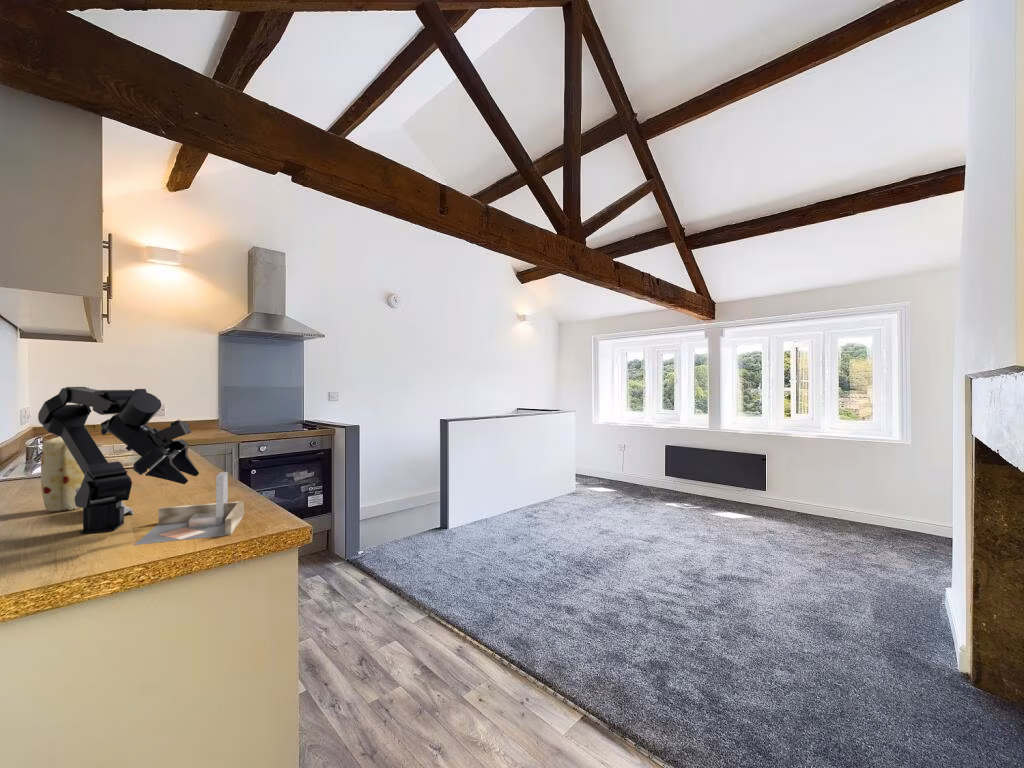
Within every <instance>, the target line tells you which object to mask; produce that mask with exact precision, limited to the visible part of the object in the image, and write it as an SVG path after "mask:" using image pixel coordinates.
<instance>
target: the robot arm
mask: <svg viewBox="0 0 1024 768" xmlns="http://www.w3.org/2000/svg"><path fill="white" fill-rule="evenodd" d="M91 408H92V409H91ZM161 408H162V402H161V400H160V399H159V398H158V397H157V396H156V395H154V394H152V393H149V392H147V389H146V388H135V389H134V390H133V389H100V390H99V389H94V388H89V387H86V386H66V387H63V388H60V391H59V392H58V394H56V395H54V396H52V397H51V398H49V399H47V400H46V401H44V402H43V404H42V406H41V408H40V410H39V412H38V416H37V420H38V422H39V424H40V425H42V427H43V428H44V429H45V430H46V431H47V433H49V434H53V435H56V436H58V437H61V438H62V439H63V441H64V442H65V444H66V446H67V447H68V449H69V451H70V452H71V454H72V456H73V457H74V459H75V460H76V462H77V464H78V465H79V467H80V469H81V470H82V472H83V474H84V479H83V481H82V483H81V487H80V489H79V491H78V492H77V494H76V496H75V504H76V506H77V507H79V508H82V529H81V530H80V531H79V532H78V533H79V535H81V534H91V533H102V532H103V533H104V532H112V531H115V530H117V529H118V528H120V527H121V526H122V525H124V524H125V514H124V507H123V506H121V501H123V502H124V501H129V498H130V494H131V490H132V485H133V481H132V479H131V477H130V476H129V474H128V470H126V469H125V468H124V465H123V463H122V462H120V461H111V462H108V460H107V459H106V457H105V456H104V454H103V453H102V450H101V449H100V447H99V446H98V445H97V443H96V441H95V439H94V438H93V437H92V435H91V434H90V433H89V431H88V429H87V427H86V426H85V425H86V423H87V419H88V418H89V416H90V415H91V412H92V411H93V412H95V413H97V414H98V415H101V416H104V415H105V416H106V415H113V416H111V417H110V418H109V419H107V420H104V421H102V422H101V423H100V426H101V429H100V431H101V435H103V436H104V435H107V434H112V436H114V437H116V438H117V440H119V441H120V442H121V443H123V444H124V445H126V446H125V449H126V450H127V451H128V452H130V451H133V452H134V453H136V454H137V455H139V456H140V458H139V459H137V460H136V461H135V462H134V463H133V471H134V472H136V473H137V474H138V475H139V476H141V475H145V476H146V477H151V478H152V477H153V478H155V479H161V480H165V481H169V482H173V483H176V484H182V485H186V484H187V483H188V482H189V479H188V478H187V477H186V476H185V475H184V474H187V475H190V476H193V477H198V476H199V474H200V472H199V471H198V469H197V467H196V466H195V465H194V462H192V460H191V458H189V455H188V453H189V452H188V451H189V448H190V447H189V443H188V442H187V441H185V440H184V439H183V438H181V437H183V436H186V435H189V434H190V433H192V430H191V428H190V425H191V424H189V423H187V421H186V420H184V421H182V420H180V419H177V420H175V421H171V422H170V426H167V427H165V428H163V429H159V428H157V427H152V428H151V427H150V426H148V425H147V424H148V423H149V422H150V420H151V419H152V418H153V417H154V416H155V415H157V413H158V412H159V411H160V410H161ZM179 437H180V438H181V439H177V438H179ZM174 439H175V440H174ZM183 473H184V474H183Z"/></svg>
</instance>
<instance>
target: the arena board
mask: <svg viewBox="0 0 1024 768" xmlns="http://www.w3.org/2000/svg"><path fill="white" fill-rule="evenodd" d="M241 521H242V519H241V520H240V522H241ZM234 531H235V530H234ZM234 531H233V533H234ZM224 536H225V523H224V524H223V525H216V526H206V527H195V528H189V521H186V522H175V523H164V524H159V523H158V524H156V526H154V527H153V528H152V529H150V531H148V532H147V533H146V534H145V535H144V536H143V537H141V538H140V539H139V540H138V541H136V542H135V543H134V544H133V546H137V545H138V546H139V545H148V544H149V545H150V544H156V543H157V544H158V543H167V542H176V541H177V542H179V541H185V540H186V541H187V540H197V539H209V538H215V537H216V538H217V537H224ZM227 536H228V535H226V536H225V537H227Z"/></svg>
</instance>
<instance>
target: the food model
mask: <svg viewBox="0 0 1024 768" xmlns="http://www.w3.org/2000/svg"><path fill="white" fill-rule="evenodd" d="M42 445H43V446H42V452H41V453H42V454H41V462H40V484H41V487H40V488H41V493H42V494H41V495H42V501H43V504H44V507H45V510H46V511H47V512H60V511H61V510H63V511H74V510H73V509H75V510H77V509H79V508H80V507H77V506H76V504H75V496H76V492H75V490H76V489H77V488H79V487H80V486H81V483H82V481H83V479H84V474H83V472H82V470H81V469H80V467H79V465H78V464H77V462H76V460H75V459H74V457H73V456H72V454H71V452H70V451H69V449H68V447H67V446H66V444H65V442H64V441H63V439H62V438H61V437H60V436H58V437H53V438H50V439H48V440H46V441H44V442H43V444H42ZM67 509H68V510H67Z"/></svg>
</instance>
